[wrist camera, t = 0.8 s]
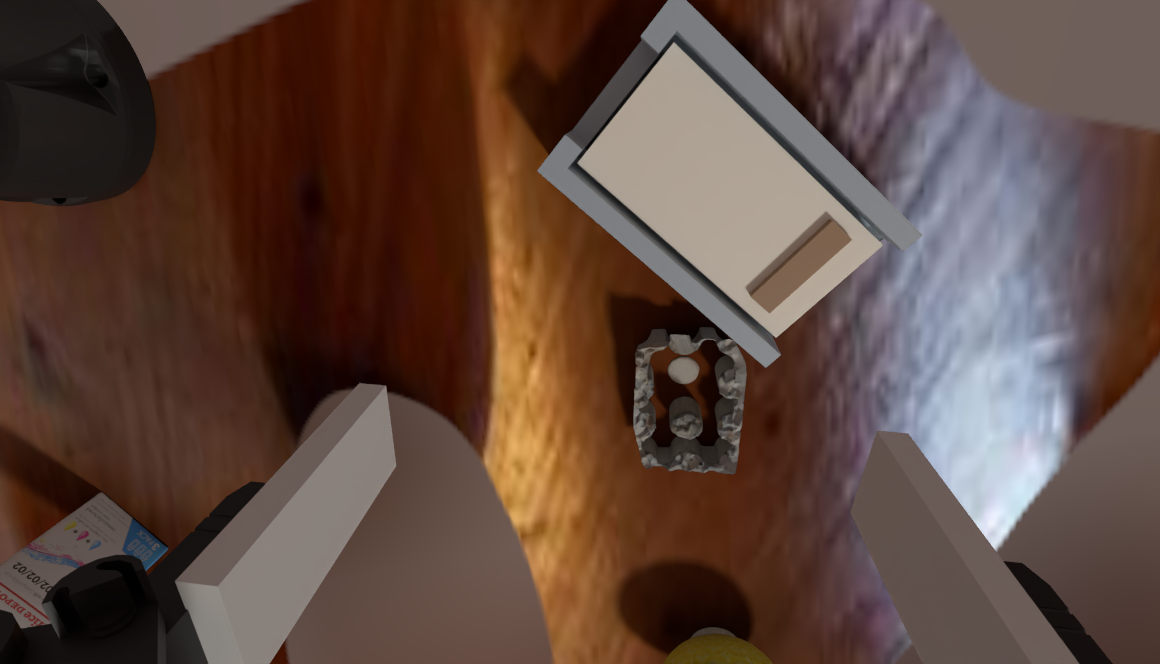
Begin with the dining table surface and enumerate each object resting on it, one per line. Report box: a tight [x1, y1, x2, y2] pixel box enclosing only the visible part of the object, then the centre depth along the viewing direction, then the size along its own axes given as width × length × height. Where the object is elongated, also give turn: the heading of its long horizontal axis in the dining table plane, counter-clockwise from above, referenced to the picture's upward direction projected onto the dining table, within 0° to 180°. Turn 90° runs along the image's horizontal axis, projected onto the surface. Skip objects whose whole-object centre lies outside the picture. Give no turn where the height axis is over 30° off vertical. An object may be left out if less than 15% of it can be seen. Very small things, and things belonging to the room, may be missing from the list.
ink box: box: [0, 492, 168, 628], centre depth 48 cm, size 8×5×15 cm, turn 37°
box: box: [537, 0, 922, 367], centre depth 32 cm, size 18×11×5 cm, turn 50°
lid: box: [578, 43, 883, 337], centre depth 31 cm, size 16×8×2 cm, turn 50°
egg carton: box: [633, 327, 747, 474], centre depth 39 cm, size 11×8×4 cm
